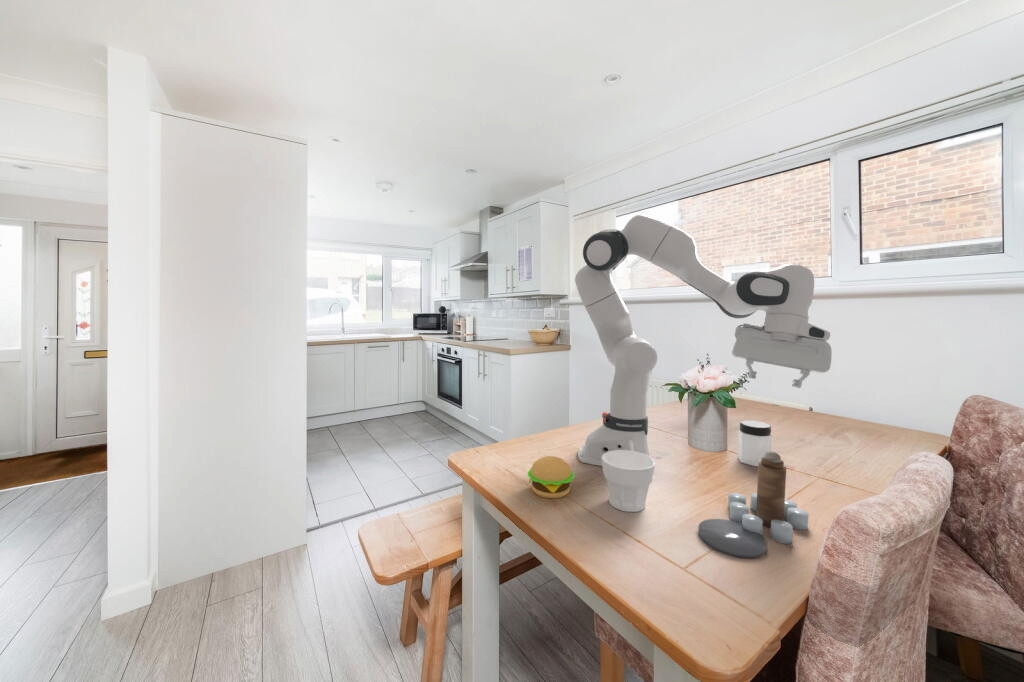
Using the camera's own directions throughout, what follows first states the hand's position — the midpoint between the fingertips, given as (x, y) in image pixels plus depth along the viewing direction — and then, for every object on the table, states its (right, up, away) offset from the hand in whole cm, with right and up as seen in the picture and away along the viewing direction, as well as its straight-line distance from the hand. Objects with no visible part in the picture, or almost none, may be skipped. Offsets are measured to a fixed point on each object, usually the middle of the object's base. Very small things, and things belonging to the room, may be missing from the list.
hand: (773, 382), depth 94 cm
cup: (-37, -29, -2) cm, 47 cm away
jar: (+10, -27, +23) cm, 37 cm away
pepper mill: (-9, -30, -11) cm, 33 cm away
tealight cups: (-9, -30, -11) cm, 33 cm away
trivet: (-21, -30, -17) cm, 40 cm away
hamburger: (-55, -29, +5) cm, 62 cm away
